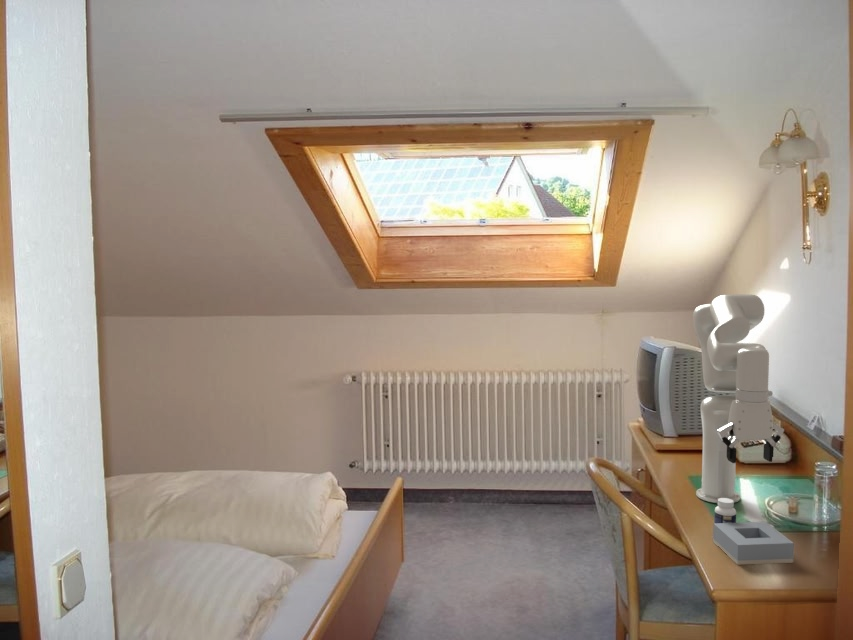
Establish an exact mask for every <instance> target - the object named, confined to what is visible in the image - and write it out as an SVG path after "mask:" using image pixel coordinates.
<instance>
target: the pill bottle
mask: <svg viewBox="0 0 853 640" xmlns="http://www.w3.org/2000/svg"><path fill="white" fill-rule="evenodd" d="M734 506H735V503H734V501H733V500H732V499H729V498H719V499H718V503H717V506H716V507H714V516H713V517H714V518H713V519H714V521H713V522H714V523H737V510H736V509H735V507H734Z"/></svg>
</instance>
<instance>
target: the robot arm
mask: <svg viewBox="0 0 853 640" xmlns="http://www.w3.org/2000/svg"><path fill="white" fill-rule="evenodd" d="M764 316H765V305H764V302H763V300H762V298H760V297H759V296H758V295H756V294H722V295H719V296H716V297H715V298H713V300H712V301H711V302H710V303H706V304H701V305H698V306H697V307H696V308H694V311H693V313H692V324H693V330H694V333H695V335H696V338H697V340H698V343H699V346H700V349H701V360H702V361H701V362H702V363H701V365H702V376H703V378H702V379H703V384H704V388H705V389H706V390H707V391H710V392H713V393H714V392H715V393H734V394H735V395H733V396H732V395H711V396H707V397H705V398H704V399H702V401H701V402H700V409H699V410H700V418H701V426H702V457H701V459H702V462H701V463H702V464H701V487H700V488H698V489H696V490H695V491H696V492H695V493H696V494H695V495H696V497H697V498H699V499H700V500H701V501H705V502H709V503H714V504H718V499H719V498H729V499H732V500H733V501H734V504H735V503H737V502H740V500H741V494H740V493H739V492H737V491H736V490H735V489H736V463H737V444H738V443H739V442H740V441H745V442H746V441H764V442H765V443H764V444H763V453H762V454H763V455H762V456H763V459H764V460H766V461H767V462H769V463H770V462H773V458H774V450H775V448H774V447H775V446H776V445H777V443H778V442H779V441H780V440H781V438H782V436H783V434H784V432H785V428H783V427H781V426H779V425H777V424H775V423H773V421H774V419H773V412H772V405H771V402H770V401H769V397H772V396H773V391H772V390H770V389H769V369H770V354H769V351H768V350H767V349H766V347H765V346H764V345H763V344H761V343H750V342H749V343H745V342H744V343H743V342H741V341H743V340H745V339H746V338H747V336H748V335H749V333H750V331H751V330H752V329H754V328H756V327H757V326H758V325H759V324H760V323H761V322H762V321H763V319H764ZM773 430H775V432H774V431H773ZM773 432H774V433H773Z"/></svg>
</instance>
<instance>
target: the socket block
mask: <svg viewBox="0 0 853 640" xmlns="http://www.w3.org/2000/svg"><path fill="white" fill-rule="evenodd" d="M712 543H714V545H715V546H716V547H718V546H719V547H720V548H721V549H722V550H723V551H724V552H725V553H726V554H727V555H726V554H725V553H724V552H723V551H722V550H721V549H720V548H719V547H718V548H719V549H720V550H721V551H722V552H723V553H724V554H725V555H726V556H727V557H729V559H731V560H732V561H733V562H734V563H735V564H736V565H737V566H738V565H739V566H740V565H741V566H742V565H767V564H771V565H772V564H790V563H791V564H793V563H794V556H795V555H794V554H795V553H794V550H795V549H794V548H795V542H793V541H792V540H790V539H789V538H788V537H787V536H785V535H784V534H783V533H781V532H780V531H778V530H777V529H776V528H775V527H773V526H772V525H770V524H769V523H768V522H767V521H751V522H749V521H748V522H736V523H713V526H712Z"/></svg>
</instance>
